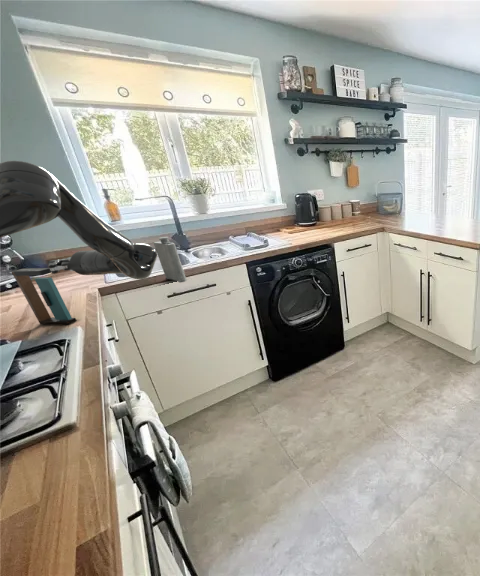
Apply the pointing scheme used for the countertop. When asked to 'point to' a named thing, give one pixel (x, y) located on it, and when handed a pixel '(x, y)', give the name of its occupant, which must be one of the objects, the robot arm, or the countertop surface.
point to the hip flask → (169, 259)
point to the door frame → (36, 295)
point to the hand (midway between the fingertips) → (51, 264)
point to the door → (53, 298)
